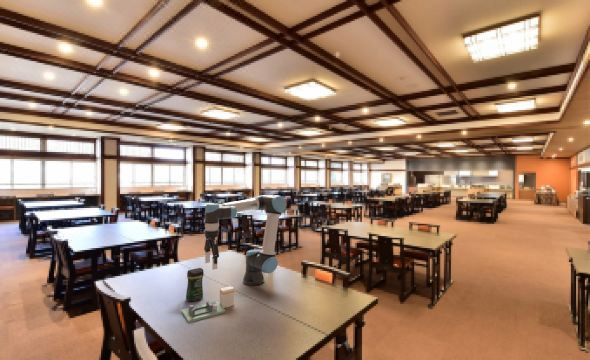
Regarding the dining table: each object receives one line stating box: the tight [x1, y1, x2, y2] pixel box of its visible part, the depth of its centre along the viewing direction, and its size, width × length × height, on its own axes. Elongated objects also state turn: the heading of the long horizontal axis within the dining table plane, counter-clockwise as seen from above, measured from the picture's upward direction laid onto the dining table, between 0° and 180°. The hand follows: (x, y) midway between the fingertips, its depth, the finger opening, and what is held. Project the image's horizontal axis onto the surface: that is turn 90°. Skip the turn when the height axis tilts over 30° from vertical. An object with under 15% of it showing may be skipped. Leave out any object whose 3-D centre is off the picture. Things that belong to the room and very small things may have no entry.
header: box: [188, 300, 213, 317], centre depth 150 cm, size 11×7×4 cm, turn 127°
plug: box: [219, 285, 235, 309], centre depth 162 cm, size 7×5×10 cm, turn 127°
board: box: [181, 300, 227, 324], centre depth 152 cm, size 20×14×4 cm
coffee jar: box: [185, 267, 205, 302], centre depth 169 cm, size 10×8×19 cm
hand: (211, 265), depth 161 cm, fingers open, 13 cm apart
